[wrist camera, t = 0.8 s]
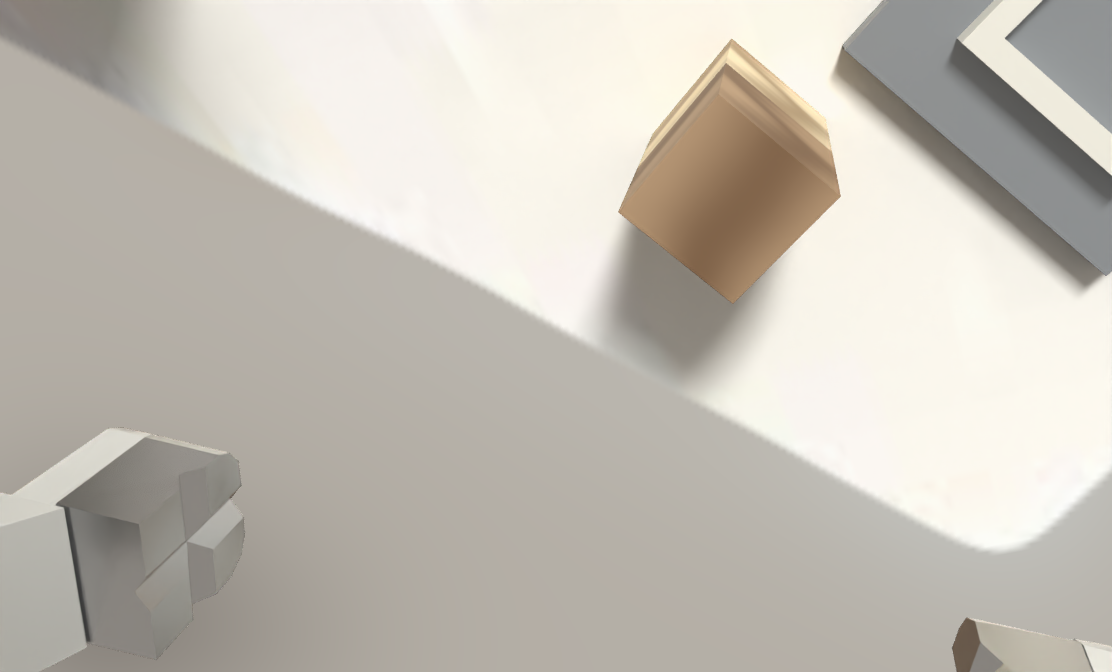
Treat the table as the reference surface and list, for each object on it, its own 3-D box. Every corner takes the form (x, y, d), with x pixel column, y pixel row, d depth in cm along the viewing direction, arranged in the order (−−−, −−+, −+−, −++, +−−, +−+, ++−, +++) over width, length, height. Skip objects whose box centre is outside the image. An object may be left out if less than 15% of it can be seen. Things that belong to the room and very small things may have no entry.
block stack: (652, 133, 39) (618, 212, 30) (731, 38, 37) (718, 93, 28) (741, 206, 40) (732, 303, 31) (825, 118, 37) (840, 196, 29)
